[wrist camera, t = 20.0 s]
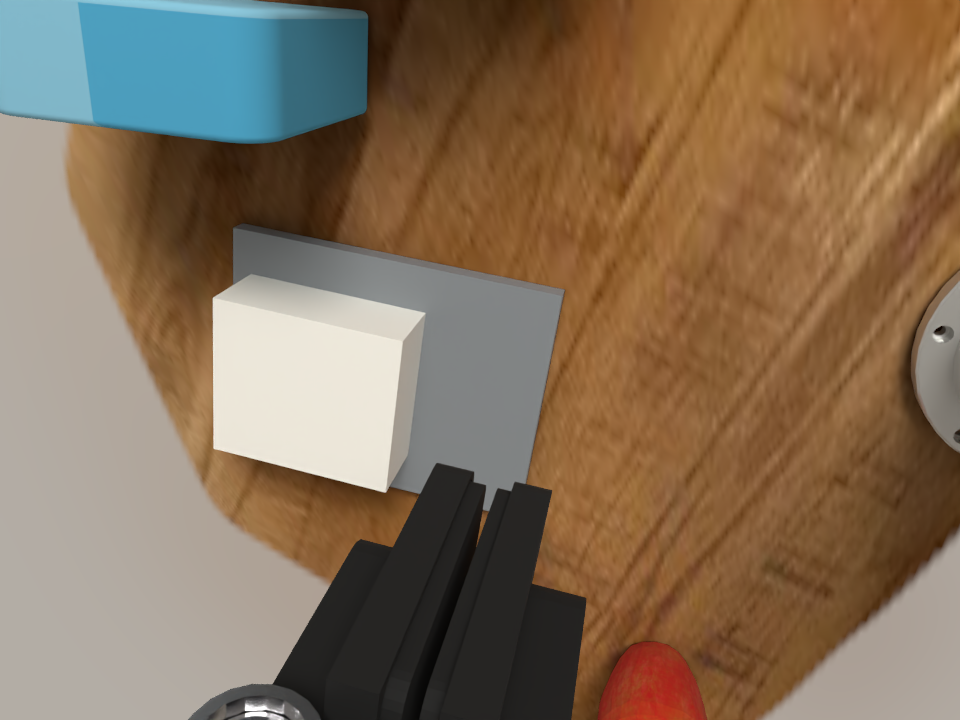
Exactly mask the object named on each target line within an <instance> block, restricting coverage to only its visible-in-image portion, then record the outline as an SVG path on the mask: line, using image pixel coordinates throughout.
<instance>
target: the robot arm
mask: <svg viewBox="0 0 960 720" xmlns="http://www.w3.org/2000/svg"><path fill="white" fill-rule="evenodd" d="M940 326H943V328H942V329H941V331H938V332H934V331H935V330H936V328H938V327H940ZM911 379H912V383H913V388H914V392H915V397H916V399H917V401H918V403H919V405H920V407H921V409H922V411H923V413H924V415H925V417H926V418H927V420H928V421H929V423H930V424H931V425H932V427H933V428H934V430H935V431H936V433H937V434H938V435H939V436H940V437H941V438H942V439H943V440H944V441H945V442H946V443H947V444H948V445H949V446H950V447H951V448H953V449H954V450H955V451H957V452H959V453H960V430H959V429H960V270H959V271H958V272H957V273H956V274H955V275H954V276H953V277H952V278H951V279H950V280H949V281H948V282H947V283H946V284H945V285H944V286H943V287H942V289H941V290H940V292H939V293H938V294H937V296H936V297H935V298H934V300H933V301H932V302H931V304H930V305H929V306H928V308H927V310H926V312H925V314H924V317H923V319H922V321H921V323H920V325H919V327H918V329H917V332H916V336H915V340H914V344H913V348H912V352H911ZM957 430H958V431H957ZM485 493H486V485H484V484H480V483H476V482H474V471H470V470H466V469H461V468H457V467H453V466H449V465H445V464H441V463H436V464H435V466H434V468H433V470H432V472H431V474H430V476H429V478H428V479H427V481H426V483H425V485H424V487H423V489H422V491H421V493H420V495H419V497H418V499H417V501H416V503H415V505H414V507H413V509H412V511H411V513H410V515H409V517H408V519H407V521H406V523H405V525H404V527H403V529H402V531H401V533H400V535H399V537H398V538H397V540H396V542H395V544H394V546H393V548H392V547H388V546H385V545H381V544H377V543H373V542H369V541H365V540H362V539H360V540H359V541H357V542H356V544H355V545H354V546H353V548H352V549H351V551H350V553H349V554H348V556H347V558H346V560H345V561H344V563H343V565H342V566H341V568H340V570H339V572H338V573H337V575H336V577H335V578H334V580H333V582H332V583H331V585H330V587H329V589H328V590H327V592H326V594H325V596H324V597H323V599H322V601H321V602H320V604H319V606H318V607H317V609H316V611H315V613H314V614H313V616H312V618H311V619H310V621H309V623H308V625H307V626H306V628H305V630H304V631H303V633H302V635H301V637H300V638H299V640H298V642H297V644H296V645H295V647H294V649H293V650H292V652H291V654H290V655H289V657H288V659H287V661H286V662H285V664H284V666H283V667H282V669H281V671H280V673H279V674H278V676H277V678H276V679H275V681H274V683H273V684H250V685H246V686H242V687H237V688H233V689H230V690H228V691H226V692H224V693H222V694H220V695H218V696H216V697H214V698H212V699H210V700H209V701H208V702H206V703H205V704H204V705H203V706H202V707H201V708H199V709H198V710H197V711H196V712H195V713H194V714H193V715H192V716H191V717H190V718H189V719H188V720H571V717H572V709H573V701H574V693H575V686H576V678H577V670H578V663H579V655H580V647H581V640H582V632H583V624H584V617H585V609H586V598H584V597H581V596H577V595H573V594H569V593H565V592H561V591H558V590H554V589H550V588H546V587H542V586H538V585H534V584H532V581H533V576H534V571H535V567H536V562H537V558H538V553H539V549H540V544H541V539H542V535H543V530H544V526H545V521H546V517H547V512H548V507H549V503H550V498H551V494H552V490H548V489H544V488H540V487H536V486H532V485H527V484H523V483H519V482H514V485H513V488H512V491H508V490H504V489H500V488H497V491H496V493H495V496H494V499H493V502H492V505H491V507H490V510H489V513H488V516H487V519H486V522H485V525H484V527H483V530H482V533H481V536H480V539H479V542H478V544H477V540H478V534H479V528H480V522H481V517H482V511H483V505H484V499H485ZM476 545H477V547H476Z"/></svg>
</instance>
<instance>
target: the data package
mask: <svg viewBox="0 0 960 720" xmlns="http://www.w3.org/2000/svg"><path fill="white" fill-rule="evenodd" d="M367 67H368V15H367V13H366V12H364V11H361V10H352V9H342V8H331V7H320V6H308V5H297V4H286V3H275V2H264V1H253V0H0V113H2V114H6V115H10V116H17V117H25V118H33V119H42V120H50V121H58V122H66V123H74V124H82V125H90V126H98V127H106V128H114V129H123V130H131V131H139V132H147V133H155V134H163V135H171V136H179V137H188V138H196V139H204V140H212V141H220V142H229V143H245V144H256V143H271V142H277V141H281V140H284V139H287V138H290V137H293V136H296V135H299V134H302V133H306V132H309V131H312V130H315V129H318V128H321V127H324V126H327V125H330V124H333V123H336V122H339V121H342V120H345V119H349V118H352V117H355V116H358V115H361V114H363V113H365V112H366V110H367Z"/></svg>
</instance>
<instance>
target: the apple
mask: <svg viewBox="0 0 960 720" xmlns="http://www.w3.org/2000/svg"><path fill="white" fill-rule="evenodd" d="M598 720H707V717H706V713H705V708H704V704H703V701H702V698H701V695H700V691H699V688H698V686H697V683H696V680H695V678H694V676H693V674H692V672H691V670H690V668H689V667H688V665H687V663H686V661H685V660H684V658H683V657H682V656H681V655H680V653H679V652H678V651H676V650H675V649H673V648H672V647H670V646H669V645H666V644H662V643H658V642H641V643H638V644H634V645H631V646H630V647H629V648H628V650H627V651H626V652H625V653H624V654H623V655H622V656H621V657H620V659H619V661H618V662H617V664H616V666H615V668H614V669H613V671H612V673H611V676H610V678H609V680H608V682H607V685H606V687H605V689H604V692H603V694H602V698H601V701H600V705H599V712H598Z"/></svg>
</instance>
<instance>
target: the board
mask: <svg viewBox="0 0 960 720" xmlns="http://www.w3.org/2000/svg"><path fill="white" fill-rule="evenodd" d="M250 274H253V275H258V276H262V277H267V278H271V279H276V280H280V281H285V282H289V283H294V284H298V285H303V286H307V287H312V288H316V289H321V290H325V291H330V292H334V293H339V294H343V295H348V296H352V297H356V298H361V299H365V300H370V301H374V302H379V303H383V304H388V305H392V306H397V307H401V308H406V309H410V310H415V311H419V312H424V313H426V314H425V322H424V330H423V338H422V346H421V354H420V362H419V370H418V378H417V386H416V394H415V402H414V410H413V418H412V426H411V434H410V442H409V450H408V455H407V457H406V459H405V461H404V462H403V464H402V466H401V468H400V469H399V471H398V473H397V474H396V476H395V478H394V480H393V481H392V483H391V485H390V487H394V488H398V489H402V490H406V491H410V492H414V493H418V494H420V493H421V491H422V489H423V487H424V485H425V483H426V481H427V479H428V478H429V476H430V474H431V472H432V470H433V468H434V466H435V464H436V463H441V464H445V465H449V466H453V467H457V468H461V469H466V470H470V471H474V482H476V483H480V484H484V485H486V493H485V499H484V505H483V510H486V511H489V510H490V507H491V505H492V502H493V499H494V496H495V493H496V491H497V488H500V489H504V490H508V491H512V488H513V485H514V482H519V483H523V484H526V482H527V477H528V472H529V467H530V462H531V457H532V452H533V447H534V442H535V437H536V432H537V427H538V422H539V417H540V412H541V407H542V402H543V397H544V392H545V387H546V382H547V377H548V372H549V367H550V362H551V357H552V352H553V347H554V342H555V337H556V332H557V327H558V322H559V317H560V312H561V307H562V302H563V297H564V292H565V290H564V289H559V288H554V287H549V286H544V285H539V284H535V283H530V282H525V281H520V280H515V279H510V278H506V277H501V276H496V275H491V274H486V273H481V272H476V271H472V270H467V269H462V268H457V267H452V266H447V265H443V264H438V263H433V262H428V261H423V260H418V259H413V258H409V257H404V256H399V255H394V254H389V253H384V252H380V251H375V250H370V249H365V248H360V247H355V246H350V245H346V244H341V243H336V242H331V241H326V240H321V239H317V238H312V237H307V236H302V235H297V234H292V233H287V232H283V231H278V230H273V229H268V228H263V227H258V226H254V225H249V224H244V223H242V224H240V225H238V226H235V227H233V285H234V284H236V283H237V282H239V281H241V280H242V279H244V278H245V277H247V276H249V275H250Z"/></svg>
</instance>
